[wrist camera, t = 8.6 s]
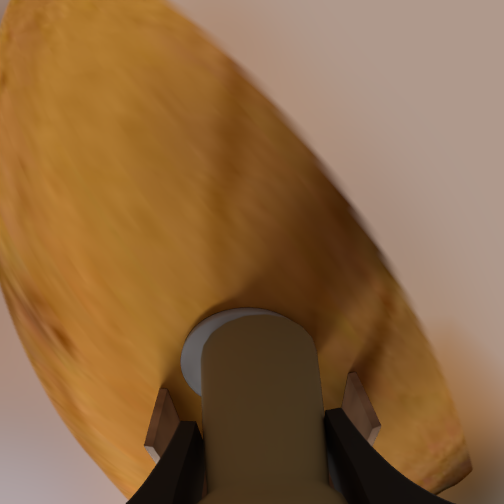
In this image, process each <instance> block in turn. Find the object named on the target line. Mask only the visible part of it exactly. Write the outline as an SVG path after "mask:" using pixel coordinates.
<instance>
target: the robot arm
mask: <svg viewBox="0 0 504 504" xmlns="http://www.w3.org/2000/svg"><path fill="white" fill-rule="evenodd" d="M324 422H325V429H326V441H327V454H328V468H329V473H330V476H331V479H332V482H333V485H334V488H335V490H337V491H338V492H340V493H341V494H343V496H344V498H345V499H346V501H347V502H348V504H454V503H452V502H449V501H447V500H444V499H442V498H440V497H438V496H436V495H434V494H432V493H430V492H429V491H427V490H425V489H423V488H422V487H420V486H418V485H417V484H415V483H414V482H412V481H411V480H409V479H408V478H406V477H405V476H404V475H402V474H401V473H400V472H399V471H397V470H396V469H395V468H394V467H393V466H391V465H390V464H389V463H388V462H387V461H386V460H385V459H384V458H383V457H382V456H381V455H380V454H379V453H378V452H377V451H376V450H375V449H374V448H373V447H372V446H371V445H370V444H369V442H368V441H367V440H366V439H365V438H364V437H363V436H362V434H361V433H360V432H359V431H358V429H357V428H356V427H355V426H354V424H353V423H352V422H351V420H350V419H349V418H348V416H347V415H346V413H345V412H344V410H343V409H342V408H336V409H331V410H325V416H324ZM204 476H205V459H204V443H203V439H202V436H201V434H200V431H199V428H198V426H197V423H196V421H180V422H179V424H178V426H177V428H176V430H175V432H174V434H173V436H172V438H171V440H170V442H169V444H168V446H167V448H166V449H165V451H164V453H163V455H162V456H161V458H160V460H159V461H158V463H157V465H156V466H155V468H154V469H153V470H152V472H151V473H150V475H149V476H148V478H147V479H146V480H145V482H144V483H143V484H142V486H141V487H140V488H139V489H138V491H137V492H136V493H135V494H134V495H133V496H132V498H131V499H130V500H129V501H128V502H127V503H126V504H197V503H198V502H199V501H200V500H201V499H202V491H203V484H204Z"/></svg>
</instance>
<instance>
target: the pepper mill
mask: <svg viewBox="0 0 504 504" xmlns="http://www.w3.org/2000/svg"><path fill="white" fill-rule="evenodd" d="M201 399H202V424H203V443H204V459H205V473H206V485H207V495H206V496H205V497H204V498H203V499H202V500H200V501H199V502H198V503H197V504H348V502H347V501H346V499H345V498H344V496H343V494H341V493H340V492H338V491H337V490H335V489H334V488H332V487H331V486H330V485H329V468H328V454H327V441H326V429H325V422H324V408H323V399H322V390H321V381H320V373H319V364H318V357H317V350H316V347H315V344H314V342H313V339H312V337H311V336H310V335H309V334H308V333H307V331H306V330H305V329H304V328H303V327H302V326H301V325H299V324H297V323H295V322H293V321H291V320H289V319H287V318H284V317H278V316H273V315H268V314H261V315H248V316H243V317H240V318H237V319H234V320H231V321H229V322H226V323H225V324H223V325H222V326H221V327H219V328H218V329H216V330H215V331H214V332H212V333H211V335H210V336H209V338H208V339H207V341H206V342H205V344H204V345H203V349H202V354H201Z"/></svg>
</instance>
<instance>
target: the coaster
mask: <svg viewBox="0 0 504 504" xmlns="http://www.w3.org/2000/svg"><path fill="white" fill-rule="evenodd" d="M261 314H268V315H273V316H278V317H284V318H286V317H285V316H283V315H281V314H278V313H276V312H273V311H269V310H265V309H260V308H235V309H229V310H225V311H221V312H219V313H216V314H213V315H212V316H210V317H208V318H206V319H204V320H203V321H201V322H200V323H199V324H198V325H197V326H196V327H194V328H193V330H192V331H191V332H190V333H189V335H188V337H187V339H186V340H185V343H184V346H183V350H182V354H181V369H182V373H183V376H184V378H185V380H186V382H187V383H188V385H189V386H190V387H191V388H192V389H193V390H194V391H195V392H196V393H197V394H198V395H200V396H201V354H202V349H203V345H204V344H205V342H206V341H207V339H208V338H209V336H210V335H211V333H212V332H214V331H215V330H216V329H218V328H219V327H221V326H222V325H223V324H225V323H226V322H229V321H231V320H234V319H237V318H240V317H243V316H248V315H261ZM287 319H288V318H287ZM289 320H290V319H289Z"/></svg>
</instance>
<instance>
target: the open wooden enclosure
mask: <svg viewBox="0 0 504 504" xmlns="http://www.w3.org/2000/svg"><path fill="white" fill-rule="evenodd" d="M341 408H342V409H343V410H344V412H345V413H346V415H347V416H348V418H349V419H350V420H351V422H352V423H353V424H354V426H355V427H356V428H357V429H358V431H359V432H360V433H361V434H362V436H363V437H364V438H365V439H366V440H367V441H368V442H369V444H370V445H371V446H373V444H374V441H375V439H376V437H377V435H378V432H379V430H380V428H381V424H380V422H379V420H378V417H377V415H376V413H375V411H374V409H373V407H372V405H371V403H370V400H369V398H368V396H367V394H366V392H365V390H364V388H363V386H362V384H361V382H360V380H359V378H358V376H357V374H356V372H353V373H348V378H347V383H346V388H345V393H344V398H343V403H342V407H341ZM179 422H180V420H179V417H178V415H177V412H176V410H175V407H174V405H173V402H172V400H171V397H170V395H169V392H168V390H167V389H159V393H158V396H157V400H156V403H155V407H154V410H153V414H152V417H151V421H150V425H149V428H148V432H147V436H146V440H145V444H144V447H145V448H146V450H147V451H148V453H149V454H150V456H151V457H152V459H153V460H154V461H155V463H156V464H157V463H158V461H159V460H160V458H161V456H162V455H163V453H164V451H165V449H166V448H167V446H168V444H169V442H170V440H171V438H172V436H173V434H174V432H175V430H176V428H177V426H178V424H179ZM329 485H330V486H331V487H332V488H334V485H333V482H332V479H331V476H330V473H329ZM334 489H335V488H334ZM206 495H207V485H206V473H205V476H204V484H203V491H202V499H203V498H204V497H205V496H206ZM202 499H201V500H202Z"/></svg>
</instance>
